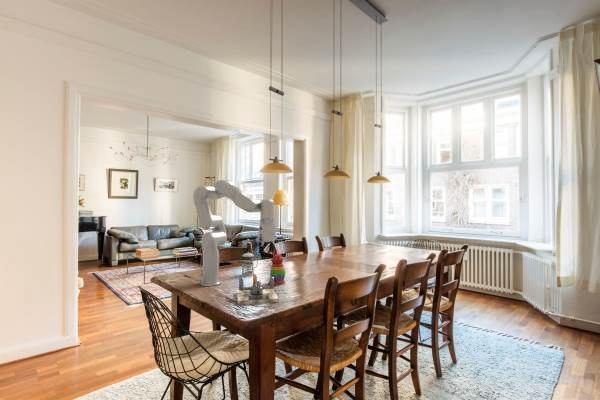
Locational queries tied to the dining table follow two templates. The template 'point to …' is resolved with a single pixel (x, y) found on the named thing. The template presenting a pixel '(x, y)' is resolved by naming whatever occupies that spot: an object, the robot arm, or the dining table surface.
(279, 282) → the stacking bear
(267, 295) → the stand
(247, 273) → the french press
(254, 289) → the capstan
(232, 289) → the dining table surface
